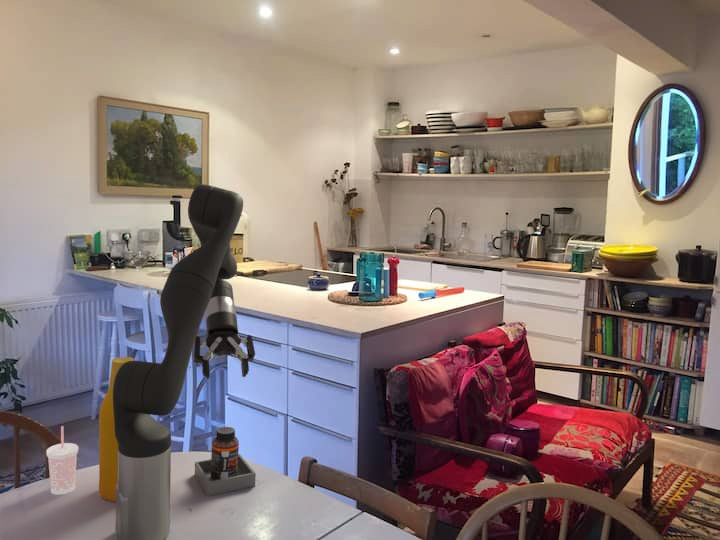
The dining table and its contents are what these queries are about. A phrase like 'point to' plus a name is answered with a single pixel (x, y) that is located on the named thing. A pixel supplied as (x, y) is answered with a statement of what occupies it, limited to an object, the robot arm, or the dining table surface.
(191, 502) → the dining table surface
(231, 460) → the supplement bottle
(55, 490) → the beverage cup
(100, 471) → the yellow bottle
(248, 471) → the tray
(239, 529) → the dining table surface
